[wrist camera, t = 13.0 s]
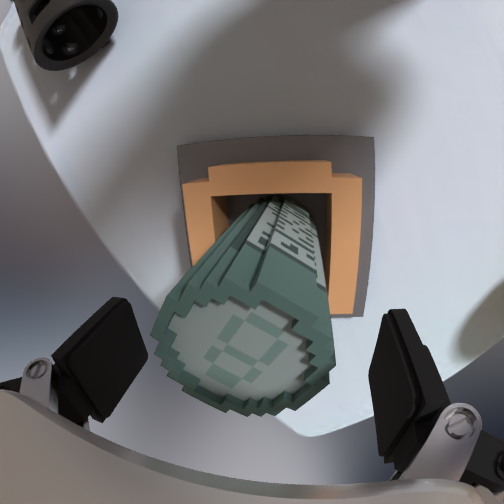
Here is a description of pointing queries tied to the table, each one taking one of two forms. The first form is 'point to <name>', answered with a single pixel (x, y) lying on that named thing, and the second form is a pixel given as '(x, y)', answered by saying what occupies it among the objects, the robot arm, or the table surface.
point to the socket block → (295, 186)
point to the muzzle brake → (66, 29)
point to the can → (252, 315)
